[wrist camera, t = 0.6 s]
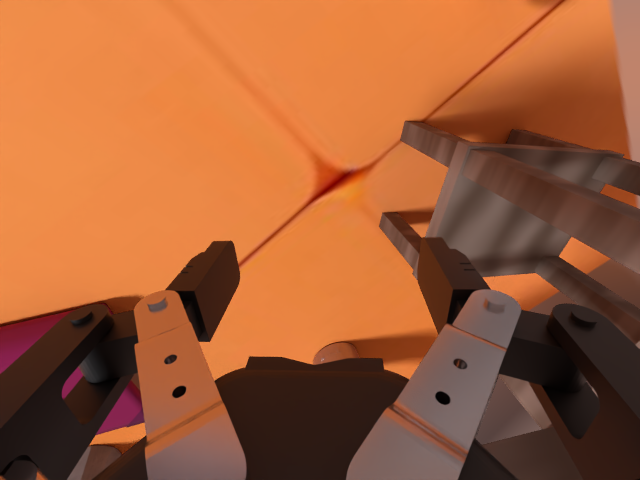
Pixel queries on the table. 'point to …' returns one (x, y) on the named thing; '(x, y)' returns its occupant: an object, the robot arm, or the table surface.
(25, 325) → the book
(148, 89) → the table surface
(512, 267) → the shelf stand
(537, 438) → the wooden mallet
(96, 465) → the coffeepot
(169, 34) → the table surface
